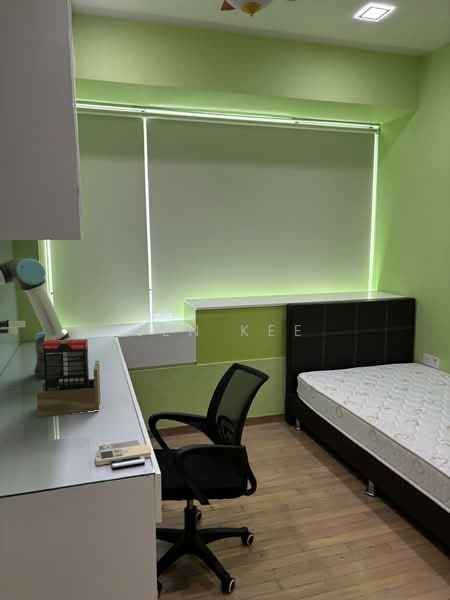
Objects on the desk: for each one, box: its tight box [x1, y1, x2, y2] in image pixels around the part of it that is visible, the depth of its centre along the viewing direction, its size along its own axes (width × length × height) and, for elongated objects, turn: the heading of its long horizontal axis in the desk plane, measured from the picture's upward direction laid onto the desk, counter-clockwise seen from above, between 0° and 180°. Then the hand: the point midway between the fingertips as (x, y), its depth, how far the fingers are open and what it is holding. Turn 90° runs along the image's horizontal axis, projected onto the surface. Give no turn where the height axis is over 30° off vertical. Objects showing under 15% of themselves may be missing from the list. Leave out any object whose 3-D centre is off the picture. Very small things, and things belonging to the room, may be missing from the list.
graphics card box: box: [43, 338, 90, 391], centre depth 179 cm, size 17×7×27 cm, turn 100°
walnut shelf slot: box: [36, 360, 102, 418], centre depth 180 cm, size 14×23×18 cm, turn 103°
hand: (21, 326), depth 181 cm, fingers open, 13 cm apart
